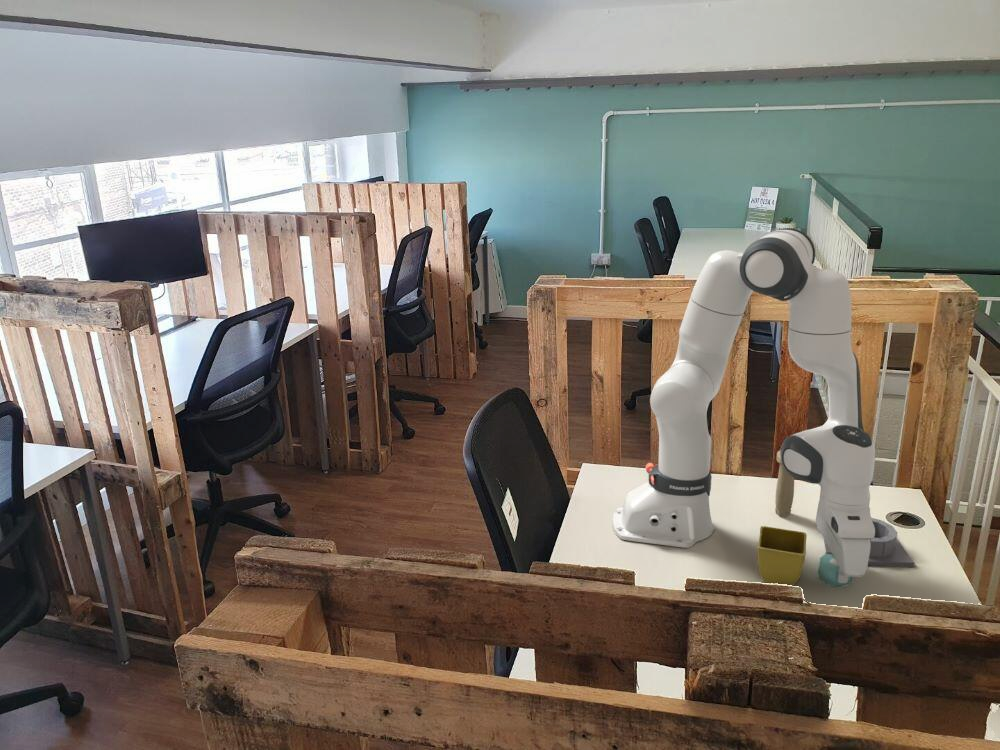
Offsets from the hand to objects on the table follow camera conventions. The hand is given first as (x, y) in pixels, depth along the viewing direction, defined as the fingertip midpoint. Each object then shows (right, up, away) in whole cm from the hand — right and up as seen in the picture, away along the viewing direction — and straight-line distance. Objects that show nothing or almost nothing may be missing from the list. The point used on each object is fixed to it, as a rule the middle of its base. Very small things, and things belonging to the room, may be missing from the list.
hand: (835, 570), depth 153 cm
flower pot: (-11, -2, +1) cm, 11 cm away
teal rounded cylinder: (0, -2, +1) cm, 2 cm away
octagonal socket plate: (+11, +2, +11) cm, 16 cm away
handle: (-1, +6, +26) cm, 26 cm away
